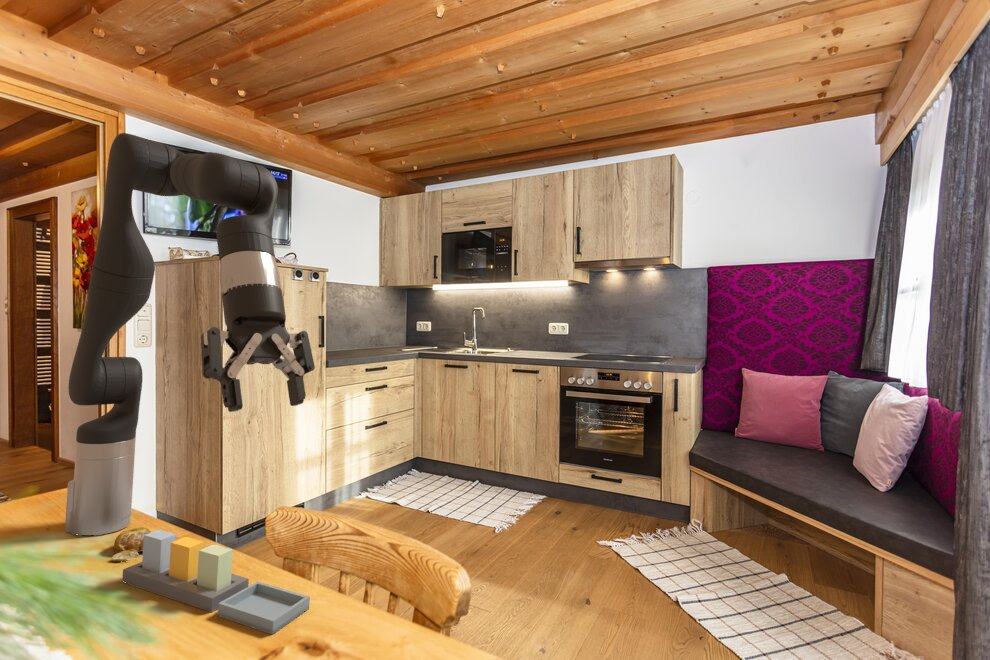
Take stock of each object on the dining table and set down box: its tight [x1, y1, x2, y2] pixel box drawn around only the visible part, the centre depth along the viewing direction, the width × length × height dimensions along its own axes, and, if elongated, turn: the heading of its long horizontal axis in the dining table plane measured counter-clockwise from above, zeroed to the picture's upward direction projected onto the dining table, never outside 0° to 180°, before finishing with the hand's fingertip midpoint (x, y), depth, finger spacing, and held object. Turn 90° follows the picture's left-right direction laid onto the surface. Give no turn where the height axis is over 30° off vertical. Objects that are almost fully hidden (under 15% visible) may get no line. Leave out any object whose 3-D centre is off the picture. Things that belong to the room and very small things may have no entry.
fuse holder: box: [121, 561, 250, 613], centre depth 78 cm, size 19×6×2 cm, turn 69°
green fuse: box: [197, 544, 234, 592], centre depth 76 cm, size 4×2×7 cm, turn 69°
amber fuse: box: [169, 536, 205, 582], centre depth 78 cm, size 4×2×7 cm, turn 69°
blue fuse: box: [141, 529, 178, 574], centre depth 80 cm, size 4×2×7 cm, turn 69°
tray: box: [217, 581, 311, 635], centre depth 73 cm, size 10×7×2 cm
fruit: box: [111, 526, 152, 563], centre depth 89 cm, size 8×8×4 cm
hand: (267, 407), depth 66 cm, fingers open, 8 cm apart
